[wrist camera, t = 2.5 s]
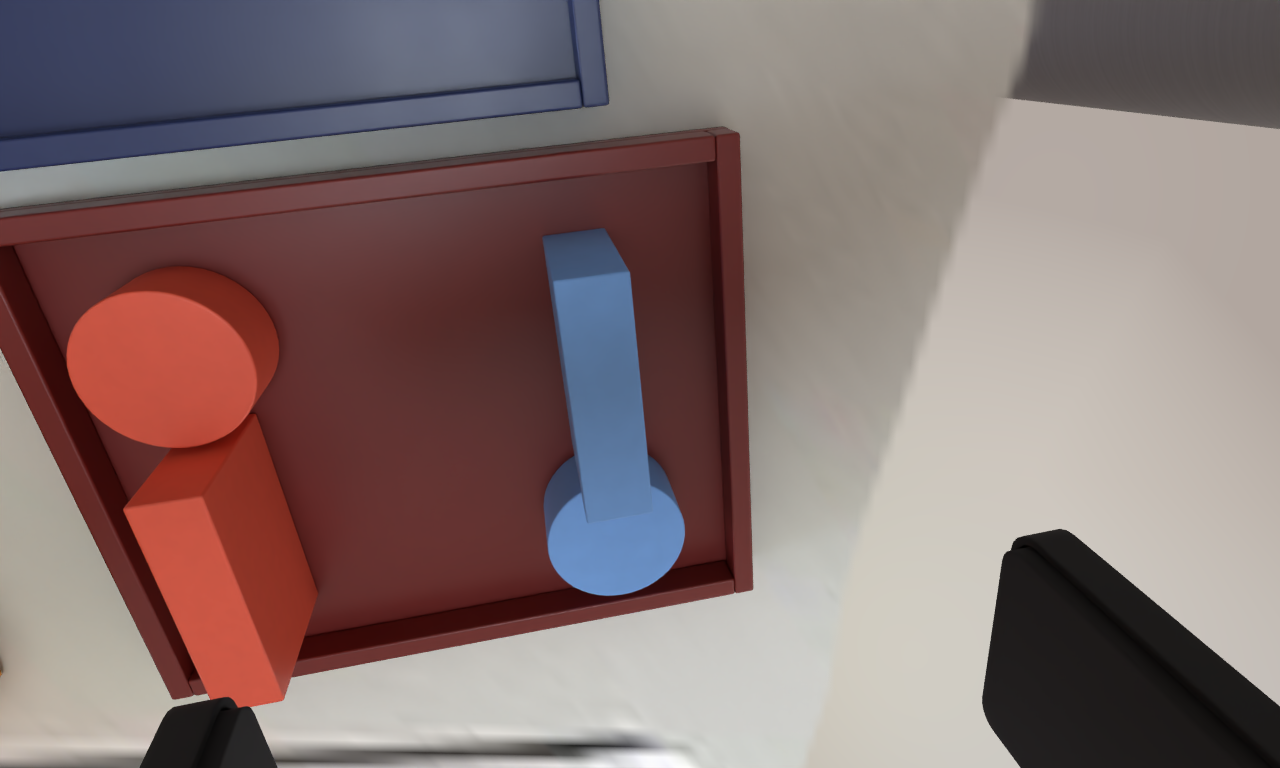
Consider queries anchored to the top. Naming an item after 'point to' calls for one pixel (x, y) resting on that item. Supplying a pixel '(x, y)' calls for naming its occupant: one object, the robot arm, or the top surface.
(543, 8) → the navy tray
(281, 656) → the coral spoon
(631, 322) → the blue spoon
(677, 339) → the maroon tray
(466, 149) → the top surface
